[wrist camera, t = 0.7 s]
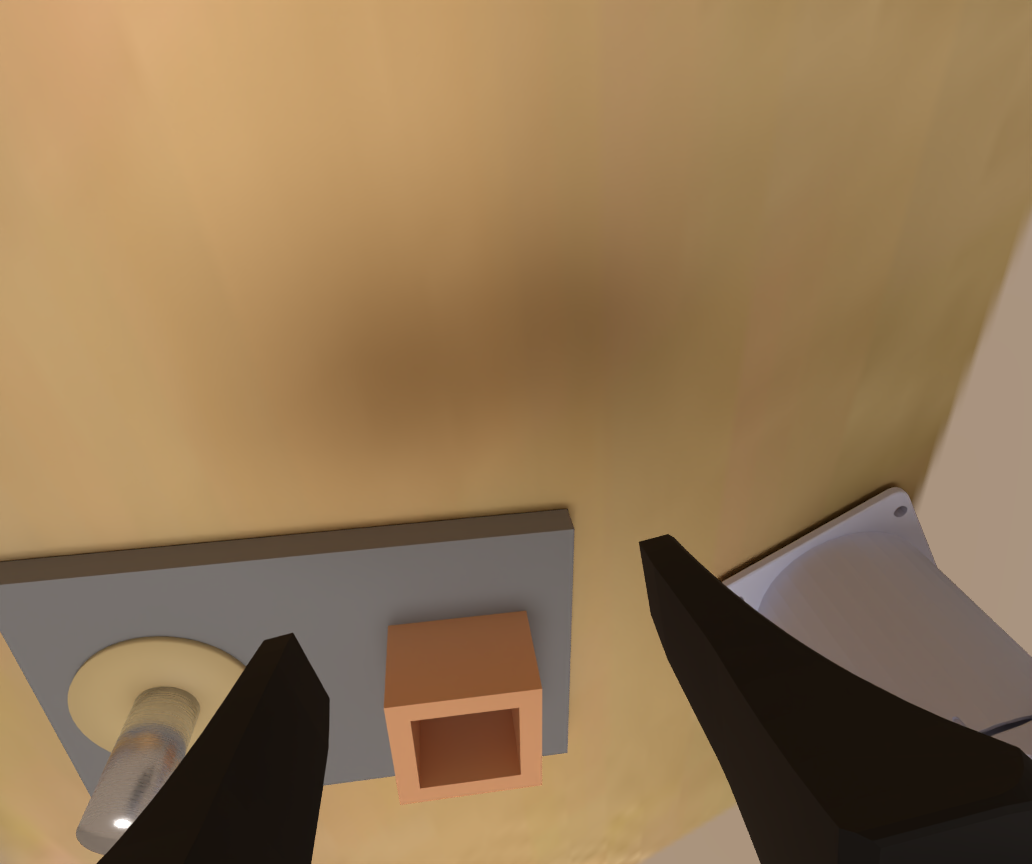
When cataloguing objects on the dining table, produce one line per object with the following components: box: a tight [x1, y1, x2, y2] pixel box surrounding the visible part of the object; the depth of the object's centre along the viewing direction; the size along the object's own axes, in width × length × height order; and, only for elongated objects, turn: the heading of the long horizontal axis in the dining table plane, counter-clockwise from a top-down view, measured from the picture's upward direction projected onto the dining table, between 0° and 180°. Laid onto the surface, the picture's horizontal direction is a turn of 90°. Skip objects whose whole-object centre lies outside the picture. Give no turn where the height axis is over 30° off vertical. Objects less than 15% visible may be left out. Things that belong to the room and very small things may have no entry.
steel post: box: [76, 686, 200, 855], centre depth 22 cm, size 2×2×6 cm
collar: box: [384, 611, 542, 805], centre depth 23 cm, size 5×5×4 cm
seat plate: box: [0, 509, 574, 797], centre depth 25 cm, size 19×12×2 cm, turn 91°
